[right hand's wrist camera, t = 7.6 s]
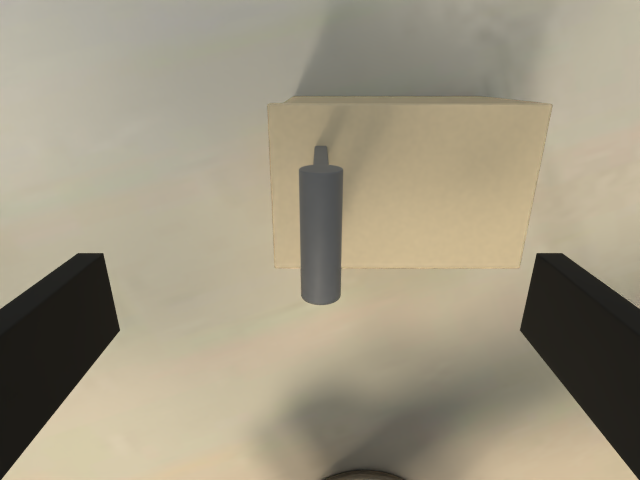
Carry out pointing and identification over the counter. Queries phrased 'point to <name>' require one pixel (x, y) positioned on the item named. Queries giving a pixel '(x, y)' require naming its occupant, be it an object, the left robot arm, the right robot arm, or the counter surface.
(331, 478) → the left robot arm
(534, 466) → the counter surface
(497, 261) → the lid
